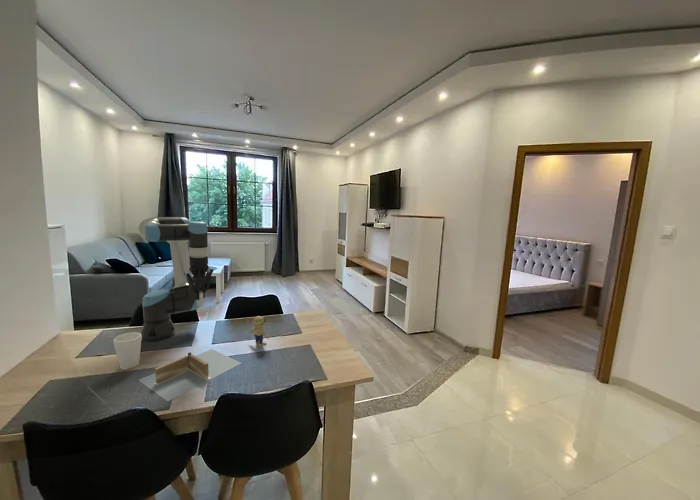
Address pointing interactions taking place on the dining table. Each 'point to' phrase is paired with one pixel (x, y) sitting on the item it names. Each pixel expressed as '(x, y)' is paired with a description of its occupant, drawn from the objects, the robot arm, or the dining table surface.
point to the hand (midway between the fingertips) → (200, 305)
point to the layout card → (190, 376)
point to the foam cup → (128, 349)
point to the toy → (259, 330)
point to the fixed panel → (171, 369)
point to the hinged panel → (198, 365)
